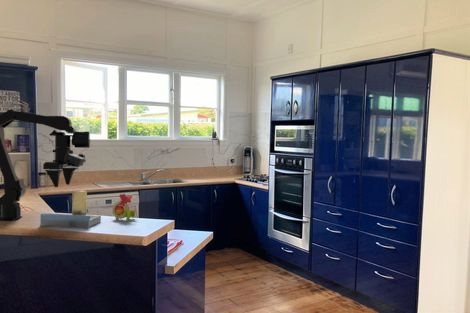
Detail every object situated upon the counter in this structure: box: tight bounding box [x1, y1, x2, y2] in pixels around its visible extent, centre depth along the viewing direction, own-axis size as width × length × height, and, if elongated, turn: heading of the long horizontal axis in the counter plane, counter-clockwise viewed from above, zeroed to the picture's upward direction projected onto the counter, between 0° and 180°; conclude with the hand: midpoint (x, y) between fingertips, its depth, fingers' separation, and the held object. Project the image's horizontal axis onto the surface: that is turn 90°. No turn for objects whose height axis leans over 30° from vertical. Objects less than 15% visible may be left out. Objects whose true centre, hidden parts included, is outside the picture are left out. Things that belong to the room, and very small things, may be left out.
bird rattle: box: [111, 193, 137, 222], centre depth 155 cm, size 6×11×9 cm
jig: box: [40, 212, 102, 229], centre depth 145 cm, size 18×11×4 cm, turn 87°
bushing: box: [71, 190, 88, 215], centre depth 145 cm, size 5×5×12 cm
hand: (62, 185), depth 155 cm, fingers open, 9 cm apart
